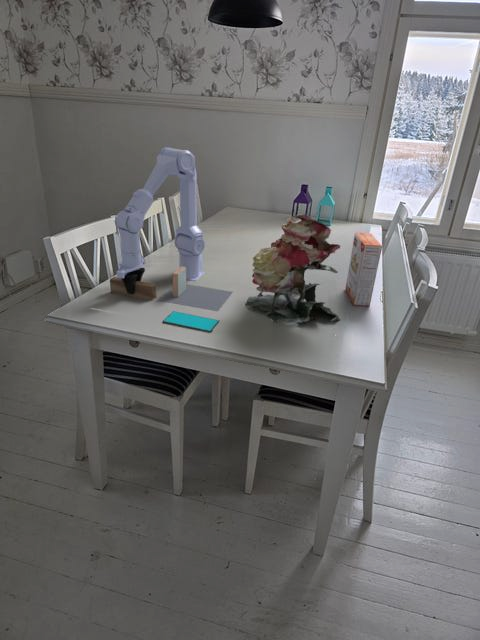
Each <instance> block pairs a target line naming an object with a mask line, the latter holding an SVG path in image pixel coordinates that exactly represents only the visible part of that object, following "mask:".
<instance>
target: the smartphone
mask: <svg viewBox="0 0 480 640" xmlns="http://www.w3.org/2000/svg"><path fill="white" fill-rule="evenodd" d="M220 321H221V320H219V319H214V318H210V317H204V316H199V315H194V314H190V313H186V312H179V311H172V312H170V314H169V315H167V316H166V317H165V318H164V319H162V323H163V324H167V325H172V326H176V327H181V328H186V329H191V330H196V331H199V332H200V331H201V332H204V333H205V332H206V333H213V332H214V329H215V327H216V326H218V324H219V323H220Z"/></svg>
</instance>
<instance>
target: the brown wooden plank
mask: <svg viewBox="0 0 480 640" xmlns="http://www.w3.org/2000/svg"><path fill="white" fill-rule="evenodd" d="M109 286H110V287H109V290H110V294H118V295H125V296H127V297H134V298H140V299H144V300H148V301H149V300H150V301H154V300H155V299H156V298H157V284H156V283H153V282H152V283H151V282H147V281H142V280H141V281H136V282H135V292H134V294H128V293H127V290H126V287H125V285H124V283H123V281H122V279H121V278H117V276H113V277H111V278H110V279H109Z"/></svg>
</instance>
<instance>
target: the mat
mask: <svg viewBox="0 0 480 640" xmlns="http://www.w3.org/2000/svg"><path fill="white" fill-rule="evenodd" d="M233 293H234V291H231V290H230V291H229V290H224V289H220V288H218V289H217V288H213V287H206V286H200V285H193V284H190V283H189V284H188V283H186V290H185V291H184V292H183V293H182V294H181V295H180V296H179V297H173V287H171V288H170V289H169V290H168V291H166V293H164V294H163V295H162V296H161V297H160V298H158V300H157V301H160V302H165V303H169V304H170V303H171V304H176V305H181V306H187V307H192V308H197V309H198V308H199V309H204V310H210V311H214V312H219V311H220V309H221V308H222V307H223V305H224V304H225V303H226V302H227V300H228V299H229V297H231V295H232V294H233Z"/></svg>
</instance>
